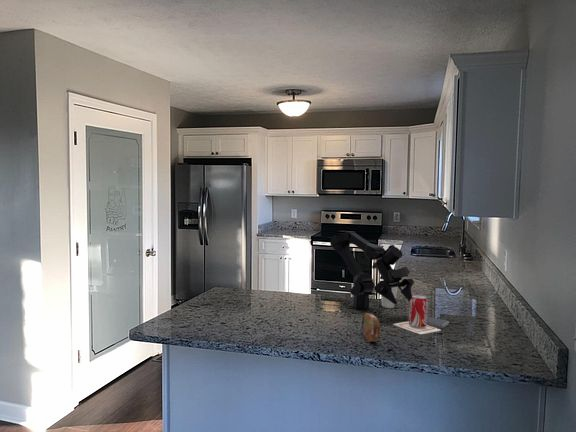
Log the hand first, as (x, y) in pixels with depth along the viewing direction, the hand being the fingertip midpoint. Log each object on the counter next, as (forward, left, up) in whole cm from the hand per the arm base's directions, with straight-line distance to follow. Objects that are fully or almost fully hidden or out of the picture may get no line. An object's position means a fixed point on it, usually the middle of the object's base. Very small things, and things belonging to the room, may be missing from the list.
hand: (404, 303), depth 185 cm
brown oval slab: (-24, -15, -8) cm, 30 cm away
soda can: (+2, -6, -8) cm, 11 cm away
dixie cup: (+9, +26, -8) cm, 28 cm away
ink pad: (+12, -3, -8) cm, 15 cm away
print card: (+2, -7, -8) cm, 11 cm away
